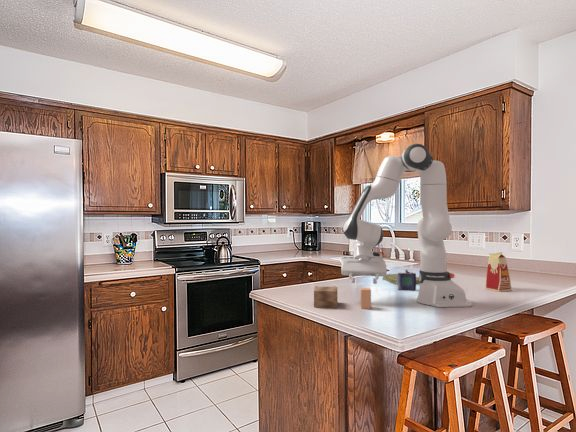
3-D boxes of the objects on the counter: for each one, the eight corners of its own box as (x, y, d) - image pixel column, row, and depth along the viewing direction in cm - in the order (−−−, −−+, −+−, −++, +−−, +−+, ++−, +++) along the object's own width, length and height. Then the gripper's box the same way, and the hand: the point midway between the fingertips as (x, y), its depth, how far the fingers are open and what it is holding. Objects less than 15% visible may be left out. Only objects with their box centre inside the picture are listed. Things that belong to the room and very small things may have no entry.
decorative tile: (406, 278, 227) (406, 273, 227) (427, 284, 208) (427, 278, 208) (379, 280, 222) (379, 274, 222) (397, 286, 203) (397, 280, 203)
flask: (397, 290, 191) (397, 269, 191) (397, 289, 194) (397, 268, 194) (416, 290, 189) (416, 270, 189) (415, 289, 192) (415, 269, 192)
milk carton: (511, 290, 188) (511, 251, 188) (499, 292, 185) (498, 252, 185) (495, 287, 197) (495, 250, 197) (483, 288, 193) (483, 251, 193)
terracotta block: (370, 306, 158) (369, 288, 158) (370, 309, 154) (370, 290, 154) (360, 306, 158) (360, 287, 158) (361, 308, 154) (361, 289, 154)
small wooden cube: (337, 302, 166) (337, 286, 165) (337, 307, 156) (337, 291, 156) (315, 301, 167) (315, 286, 167) (314, 307, 157) (313, 291, 157)
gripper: (340, 253, 169) (340, 277, 160) (385, 253, 166) (388, 279, 157) (340, 261, 174) (340, 285, 164) (384, 262, 171) (386, 287, 161)
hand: (364, 282), depth 161 cm, fingers open, 8 cm apart
